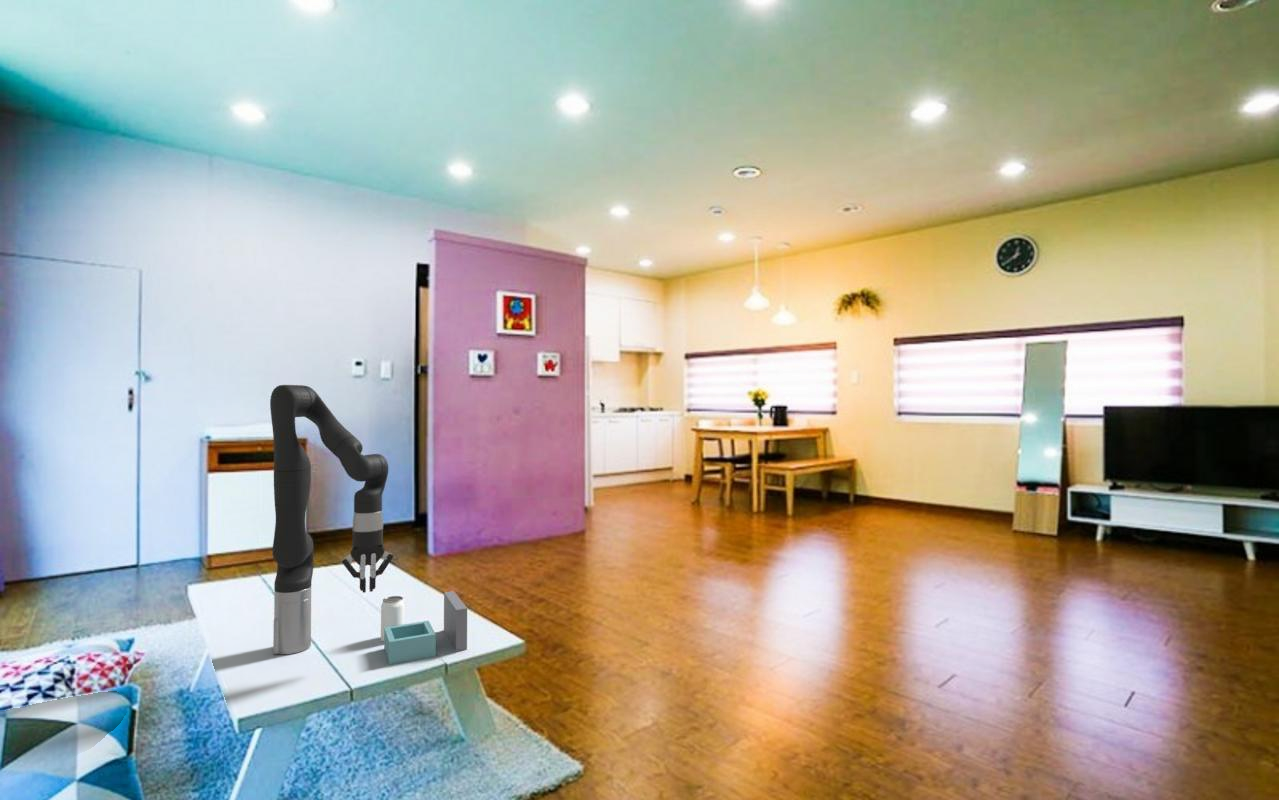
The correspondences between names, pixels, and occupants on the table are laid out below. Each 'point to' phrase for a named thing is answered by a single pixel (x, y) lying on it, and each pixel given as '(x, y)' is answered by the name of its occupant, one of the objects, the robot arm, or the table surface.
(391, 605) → the can
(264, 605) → the table surface
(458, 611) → the wall board
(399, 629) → the socket block
